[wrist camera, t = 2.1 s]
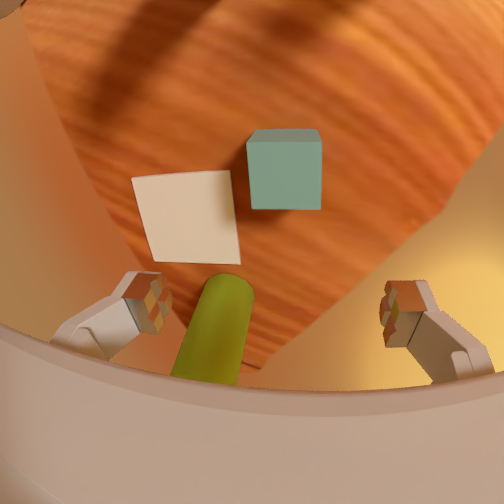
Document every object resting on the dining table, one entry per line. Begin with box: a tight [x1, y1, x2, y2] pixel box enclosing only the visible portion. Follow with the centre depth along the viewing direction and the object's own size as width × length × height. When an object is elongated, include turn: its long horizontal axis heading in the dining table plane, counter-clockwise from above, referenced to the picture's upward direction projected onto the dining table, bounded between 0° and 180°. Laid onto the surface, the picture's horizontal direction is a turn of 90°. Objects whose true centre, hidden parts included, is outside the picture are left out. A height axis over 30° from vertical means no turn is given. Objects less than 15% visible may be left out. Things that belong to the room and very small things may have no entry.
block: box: [246, 129, 322, 210], centre depth 21 cm, size 5×5×5 cm
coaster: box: [131, 170, 241, 264], centre depth 28 cm, size 10×10×1 cm
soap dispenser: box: [170, 274, 254, 386], centre depth 25 cm, size 6×7×20 cm
